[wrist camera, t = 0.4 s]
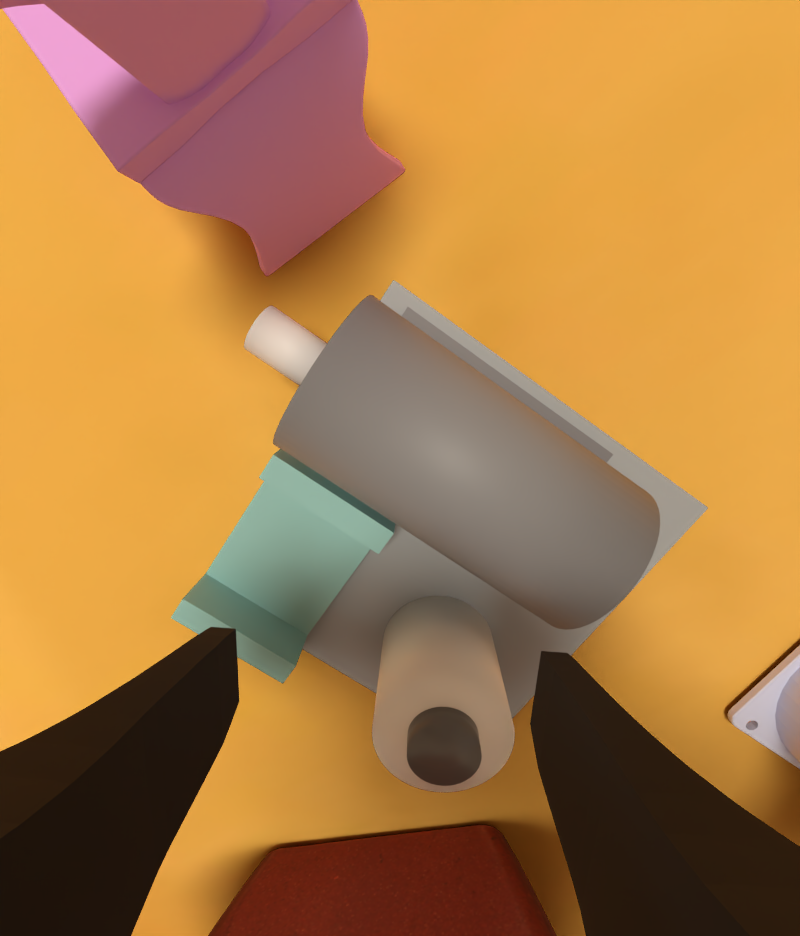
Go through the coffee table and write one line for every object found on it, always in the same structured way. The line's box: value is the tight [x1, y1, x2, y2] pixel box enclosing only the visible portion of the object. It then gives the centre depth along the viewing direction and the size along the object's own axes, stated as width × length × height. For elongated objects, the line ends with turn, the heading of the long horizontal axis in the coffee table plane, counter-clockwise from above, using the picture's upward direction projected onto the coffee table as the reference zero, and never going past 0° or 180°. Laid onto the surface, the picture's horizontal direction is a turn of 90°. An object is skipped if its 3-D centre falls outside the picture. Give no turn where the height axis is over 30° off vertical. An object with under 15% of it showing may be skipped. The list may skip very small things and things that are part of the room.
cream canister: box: [372, 596, 515, 792], centre depth 18 cm, size 5×5×6 cm
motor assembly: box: [171, 280, 708, 718], centre depth 17 cm, size 17×15×6 cm
